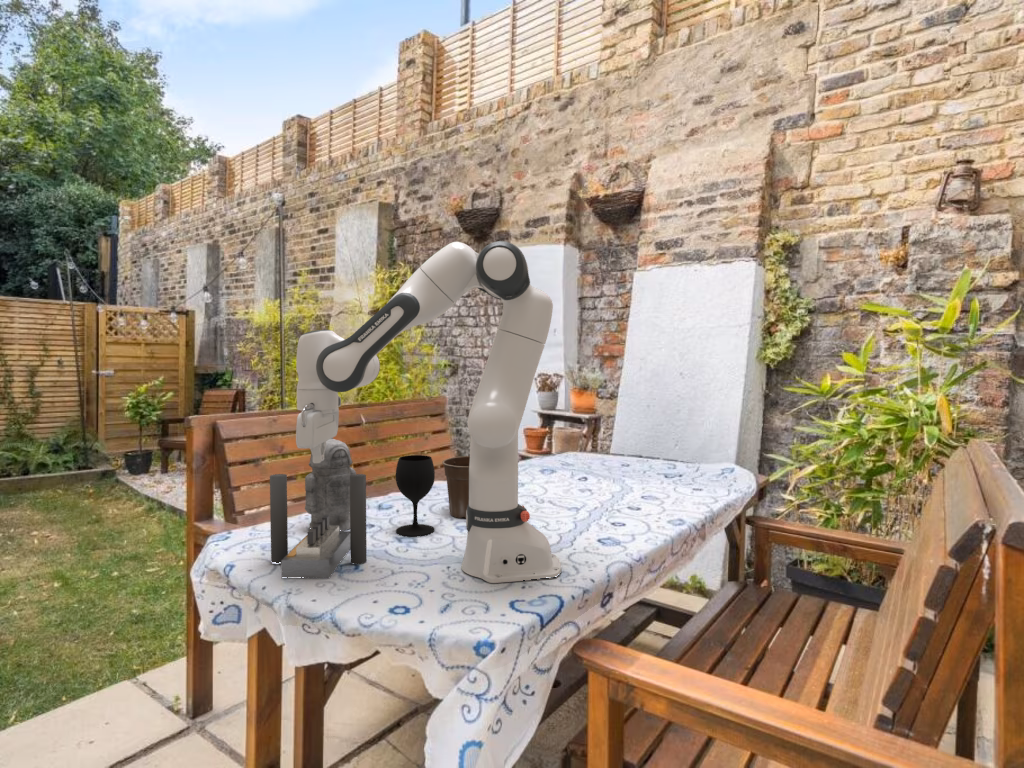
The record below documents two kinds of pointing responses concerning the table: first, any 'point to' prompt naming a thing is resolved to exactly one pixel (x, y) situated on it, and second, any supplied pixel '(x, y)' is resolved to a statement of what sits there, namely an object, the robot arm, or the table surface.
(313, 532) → the breaker paddles
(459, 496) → the plant pot
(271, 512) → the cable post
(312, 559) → the breaker panel
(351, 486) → the disc
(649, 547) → the table surface
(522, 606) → the table surface
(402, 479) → the wine glass
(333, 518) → the figurine
